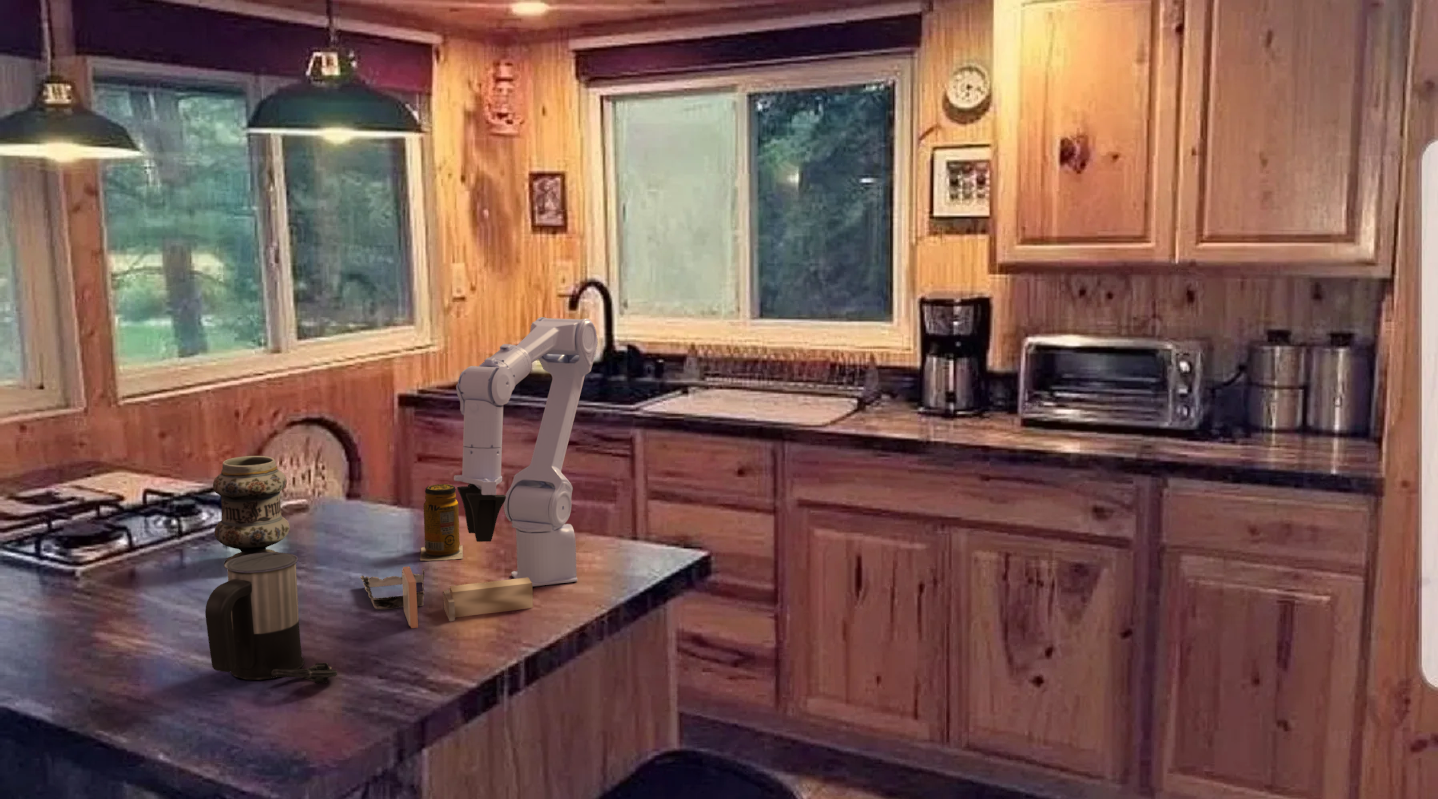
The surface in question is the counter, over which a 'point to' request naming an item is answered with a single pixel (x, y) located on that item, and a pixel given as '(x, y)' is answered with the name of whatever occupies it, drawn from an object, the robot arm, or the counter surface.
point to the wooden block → (488, 597)
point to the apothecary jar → (250, 505)
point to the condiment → (441, 524)
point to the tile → (410, 597)
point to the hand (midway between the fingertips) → (479, 537)
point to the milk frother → (259, 621)
